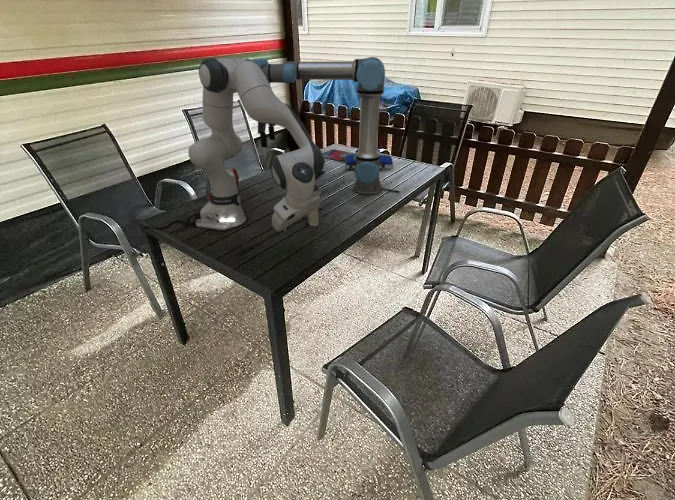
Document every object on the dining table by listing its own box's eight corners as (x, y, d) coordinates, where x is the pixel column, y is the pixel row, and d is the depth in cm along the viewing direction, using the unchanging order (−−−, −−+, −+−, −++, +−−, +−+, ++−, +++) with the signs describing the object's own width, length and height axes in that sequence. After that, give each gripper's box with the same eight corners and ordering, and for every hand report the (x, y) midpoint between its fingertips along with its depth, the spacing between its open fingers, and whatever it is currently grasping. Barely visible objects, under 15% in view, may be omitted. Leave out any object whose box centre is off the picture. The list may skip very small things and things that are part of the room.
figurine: (228, 193, 189) (223, 166, 181) (242, 192, 189) (238, 166, 181) (226, 197, 184) (221, 170, 176) (240, 197, 184) (236, 170, 176)
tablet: (333, 150, 256) (333, 148, 256) (361, 155, 243) (361, 154, 243) (316, 156, 243) (316, 155, 243) (345, 162, 230) (345, 161, 230)
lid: (303, 190, 151) (303, 186, 150) (315, 188, 153) (314, 183, 152) (309, 194, 147) (308, 190, 146) (320, 192, 149) (320, 187, 148)
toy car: (392, 171, 216) (394, 155, 211) (345, 171, 217) (345, 155, 211) (390, 164, 228) (391, 148, 222) (345, 164, 228) (345, 149, 223)
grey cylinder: (306, 222, 159) (304, 187, 150) (316, 220, 161) (314, 185, 152) (311, 227, 155) (309, 191, 146) (320, 224, 157) (319, 188, 148)
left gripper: (315, 182, 125) (310, 204, 137) (269, 209, 116) (268, 230, 128) (326, 194, 124) (321, 215, 136) (281, 222, 115) (279, 242, 127)
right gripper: (263, 92, 170) (268, 136, 181) (246, 101, 149) (253, 150, 161) (278, 92, 169) (282, 137, 181) (263, 101, 148) (268, 150, 160)
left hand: (295, 223), depth 132 cm, fingers open, 8 cm apart
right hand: (268, 143), depth 171 cm, fingers open, 13 cm apart
